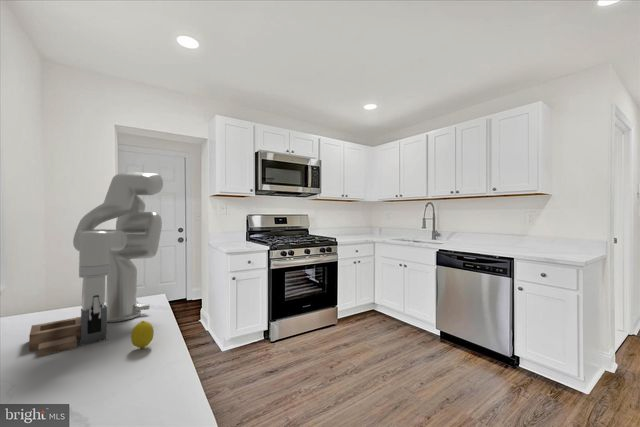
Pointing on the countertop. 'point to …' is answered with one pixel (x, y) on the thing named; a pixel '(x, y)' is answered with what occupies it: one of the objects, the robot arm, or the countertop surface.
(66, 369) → the countertop surface
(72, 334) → the socket
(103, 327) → the bracket
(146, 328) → the lemon
